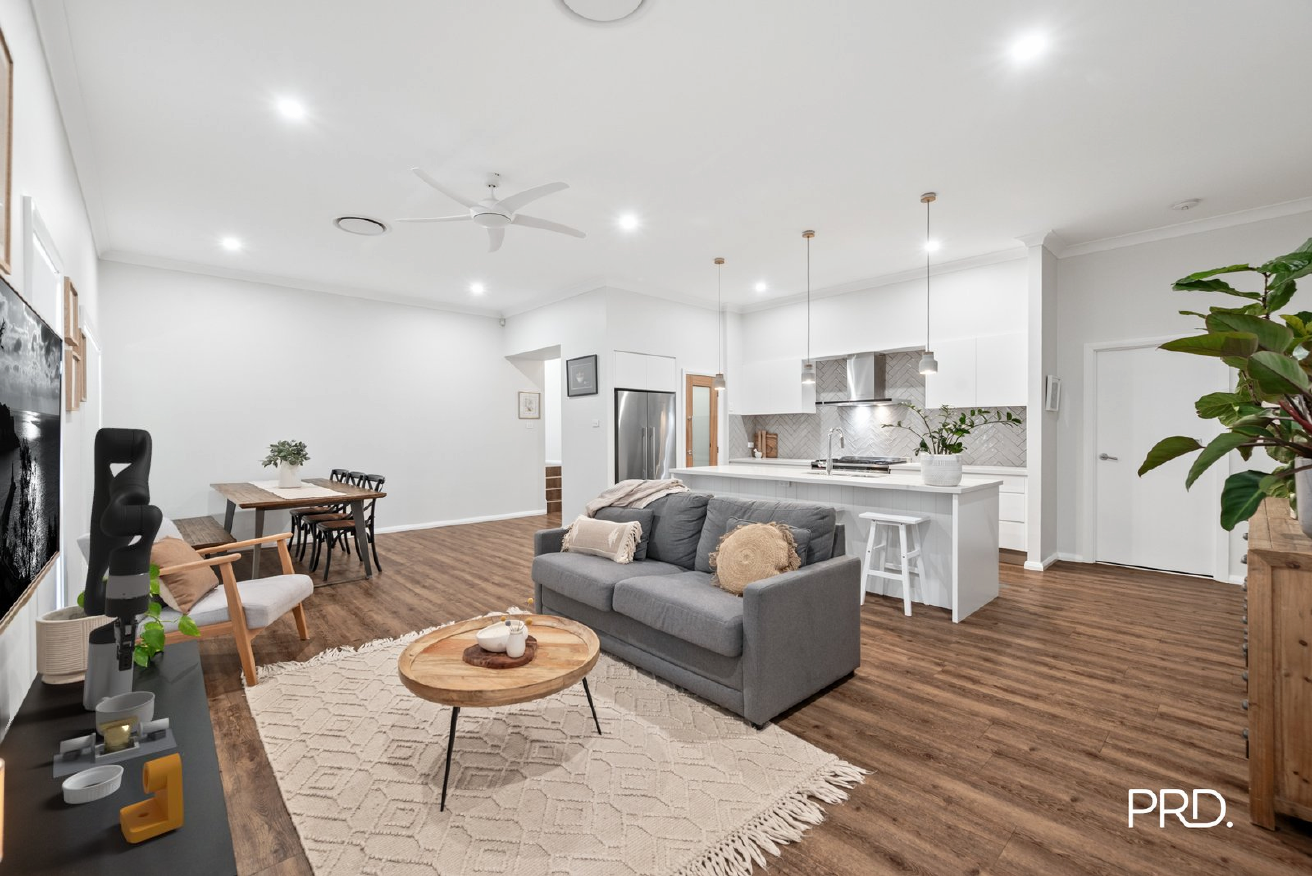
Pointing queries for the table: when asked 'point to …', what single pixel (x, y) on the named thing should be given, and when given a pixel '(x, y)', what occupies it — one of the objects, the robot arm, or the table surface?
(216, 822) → the table surface
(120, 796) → the table surface
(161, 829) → the bracket
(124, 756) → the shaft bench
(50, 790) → the table surface
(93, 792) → the ramekin
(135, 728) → the teacup
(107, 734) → the gold knob
